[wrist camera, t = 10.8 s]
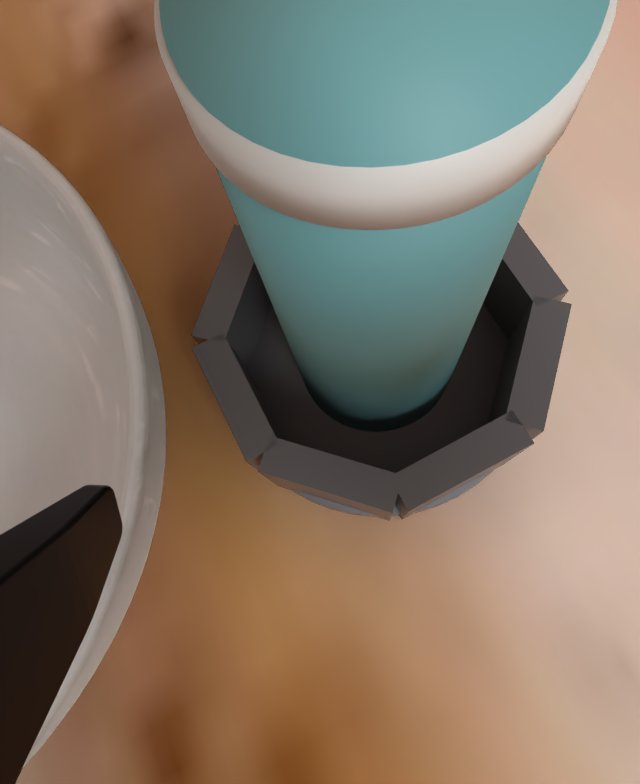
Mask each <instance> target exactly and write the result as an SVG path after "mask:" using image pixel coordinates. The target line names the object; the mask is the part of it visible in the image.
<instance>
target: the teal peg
mask: <svg viewBox="0 0 640 784" xmlns="http://www.w3.org/2000/svg"><path fill="white" fill-rule="evenodd" d="M616 7H617V0H155V4H154V23H155V34H156V39H157V43H158V47H159V51H160V55H161V58H162V61H163V63H164V65H165V68H166V70H167V72H168V75H169V77H170V79H171V82H172V84H173V86H174V89H175V91H176V93H177V96H178V98H179V100H180V103H181V105H182V107H183V109H184V112H185V114H186V116H187V119H188V121H189V123H190V126H191V128H192V130H193V132H194V134H195V137H196V139H197V141H198V143H199V145H200V146H201V148H202V149H203V151H204V152H205V154H206V155H207V157H208V158H209V160H210V161H211V162H212V163H213V164H214V166H215V167H216V169H217V171H218V174H219V176H220V179H221V181H222V184H223V186H224V188H225V191H226V193H227V196H228V198H229V201H230V203H231V205H232V208H233V210H234V213H235V215H236V218H237V220H238V222H239V225H240V227H241V230H242V232H243V235H244V237H245V240H246V242H247V244H248V247H249V249H250V252H251V254H252V257H253V259H254V261H255V264H256V266H257V269H258V271H259V274H260V276H261V278H262V281H263V283H264V286H265V288H266V291H267V293H268V295H269V298H270V300H271V303H272V305H273V308H274V310H275V313H276V315H277V317H278V320H279V322H280V325H281V327H282V330H283V332H284V334H285V337H286V339H287V342H288V344H289V347H290V349H291V351H292V354H293V356H294V359H295V361H296V364H297V366H298V369H299V371H300V373H301V376H302V378H303V381H304V383H305V385H306V388H307V390H308V392H309V394H310V396H311V397H312V399H313V400H314V402H315V403H316V404H317V405H318V406H319V408H320V409H321V410H322V411H324V412H325V413H326V414H327V415H328V416H330V417H331V418H332V419H334V420H335V421H337V422H339V423H341V424H343V425H345V426H348V427H351V428H353V429H358V430H362V431H371V432H382V431H390V430H395V429H399V428H402V427H405V426H407V425H409V424H412V423H414V422H415V421H417V420H419V419H420V418H422V417H423V416H424V415H426V414H427V413H428V412H429V411H430V410H431V409H432V408H433V407H434V406H435V405H436V404H437V402H438V401H439V400H440V398H441V397H442V395H443V393H444V391H445V389H446V388H447V385H448V383H449V381H450V378H451V376H452V374H453V371H454V369H455V367H456V364H457V362H458V360H459V358H460V355H461V353H462V351H463V348H464V346H465V344H466V341H467V339H468V337H469V334H470V332H471V330H472V327H473V325H474V323H475V320H476V318H477V316H478V313H479V311H480V309H481V306H482V304H483V302H484V300H485V297H486V295H487V293H488V290H489V288H490V286H491V283H492V281H493V279H494V276H495V274H496V272H497V269H498V267H499V265H500V262H501V260H502V258H503V255H504V253H505V251H506V249H507V246H508V244H509V242H510V239H511V237H512V235H513V232H514V230H515V228H516V225H517V223H518V221H519V218H520V216H521V214H522V211H523V209H524V207H525V204H526V202H527V200H528V198H529V195H530V193H531V191H532V188H533V186H534V184H535V181H536V179H537V177H538V174H539V172H540V170H541V167H542V165H543V163H544V160H545V158H546V156H547V155H548V154H549V152H550V151H551V150H552V148H553V147H554V145H555V144H556V143H557V141H558V140H559V139H560V137H561V136H562V134H563V133H564V131H565V129H566V127H567V125H568V124H569V122H570V120H571V118H572V116H573V114H574V112H575V110H576V108H577V105H578V103H579V101H580V99H581V97H582V94H583V92H584V90H585V88H586V86H587V83H588V81H589V79H590V77H591V74H592V72H593V70H594V68H595V66H596V63H597V61H598V59H599V57H600V55H601V52H602V50H603V48H604V46H605V44H606V41H607V39H608V36H609V33H610V30H611V27H612V24H613V21H614V18H615V14H616Z"/></svg>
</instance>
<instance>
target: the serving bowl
mask: <svg viewBox="0 0 640 784" xmlns="http://www.w3.org/2000/svg"><path fill="white" fill-rule="evenodd" d="M165 459H166V415H165V401H164V391H163V384H162V377H161V371H160V365H159V360H158V355H157V351H156V348H155V344H154V340H153V336H152V333H151V329H150V326H149V323H148V321H147V318H146V315H145V312H144V309H143V307H142V304H141V301H140V299H139V296H138V294H137V292H136V290H135V287H134V285H133V283H132V281H131V279H130V277H129V275H128V273H127V271H126V269H125V267H124V265H123V263H122V261H121V259H120V257H119V255H118V253H117V252H116V250H115V248H114V246H113V244H112V243H111V241H110V239H109V237H108V236H107V234H106V232H105V230H104V229H103V227H102V225H101V223H100V222H99V221H98V219H97V218H96V216H95V215H94V213H93V212H92V210H91V209H90V207H89V206H88V204H87V203H86V201H85V200H84V199H83V198H82V196H81V195H80V194H79V193H78V191H77V190H76V189H75V188H74V187H73V186H72V184H71V183H70V182H69V181H68V180H67V179H66V178H65V177H64V175H63V174H62V173H61V172H60V171H59V170H58V169H57V168H56V167H55V166H53V165H52V164H51V163H50V162H49V161H48V160H47V159H46V158H45V157H44V156H43V155H42V154H41V153H39V152H38V151H37V150H36V149H34V148H33V147H32V146H30V145H29V144H28V143H26V142H25V141H24V140H22V139H21V138H20V137H18V136H17V135H15V134H14V133H12V132H11V131H9V130H7V129H6V128H4V127H2V126H1V125H0V535H1V534H2V533H4V532H6V531H7V530H9V529H11V528H13V527H14V526H16V525H18V524H19V523H21V522H23V521H25V520H26V519H28V518H30V517H31V516H33V515H35V514H37V513H38V512H40V511H42V510H43V509H45V508H47V507H49V506H50V505H52V504H54V503H55V502H57V501H59V500H61V499H62V498H64V497H66V496H67V495H69V494H71V493H73V492H74V491H76V490H78V489H79V488H81V487H83V486H85V485H108V486H110V487H111V488H112V489H113V490H114V493H115V497H116V500H117V504H118V508H119V512H120V516H121V520H122V527H123V529H122V536H121V539H120V542H119V545H118V548H117V551H116V554H115V557H114V560H113V562H112V565H111V568H110V571H109V574H108V577H107V580H106V583H105V585H104V588H103V591H102V594H101V597H100V600H99V603H98V605H97V608H96V611H95V613H94V616H93V619H92V621H91V623H90V626H89V628H88V630H87V632H86V635H85V637H84V639H83V641H82V643H81V645H80V647H79V649H78V652H77V654H76V656H75V658H74V660H73V662H72V664H71V666H70V668H69V671H68V673H67V675H66V677H65V679H64V681H63V683H62V685H61V687H60V690H59V692H58V694H57V696H56V698H55V700H54V702H53V704H52V706H51V709H50V711H49V713H48V715H47V717H46V719H45V721H44V723H43V725H42V728H41V730H40V732H39V734H38V736H37V738H36V740H35V742H34V745H33V747H32V749H31V751H30V753H29V755H28V757H27V759H26V761H25V764H24V766H23V768H24V767H25V765H26V764H27V763H28V762H29V761H30V760H31V758H32V757H33V756H34V755H35V754H36V753H37V752H38V750H39V749H40V748H41V747H42V746H43V744H44V743H45V742H46V741H47V739H48V738H49V737H50V735H51V734H52V733H53V731H54V730H55V729H56V728H57V726H58V725H59V724H60V722H61V721H62V720H63V718H64V717H65V716H66V714H67V713H68V711H69V710H70V709H71V707H72V706H73V705H74V703H75V702H76V701H77V699H78V698H79V696H80V695H81V693H82V691H83V690H84V688H85V687H86V685H87V684H88V682H89V680H90V679H91V677H92V676H93V674H94V673H95V671H96V669H97V668H98V666H99V664H100V662H101V661H102V659H103V657H104V655H105V654H106V652H107V650H108V648H109V646H110V645H111V643H112V641H113V639H114V637H115V636H116V634H117V631H118V629H119V627H120V625H121V623H122V621H123V618H124V616H125V614H126V612H127V610H128V608H129V606H130V603H131V601H132V599H133V596H134V593H135V591H136V588H137V586H138V583H139V580H140V578H141V575H142V572H143V569H144V566H145V564H146V561H147V557H148V553H149V550H150V546H151V542H152V539H153V535H154V531H155V527H156V522H157V518H158V513H159V508H160V503H161V497H162V489H163V480H164V471H165ZM23 768H22V769H23Z"/></svg>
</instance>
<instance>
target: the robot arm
mask: <svg viewBox="0 0 640 784" xmlns="http://www.w3.org/2000/svg"><path fill="white" fill-rule="evenodd" d="M122 529H123V527H122V520H121V516H120V512H119V508H118V504H117V500H116V497H115V493H114V490H113V489H112V488H111V487H110V486H108V485H85V486H83V487H81V488H79V489H78V490H76V491H74V492H73V493H71V494H69V495H67V496H66V497H64V498H62V499H61V500H59V501H57V502H55V503H54V504H52V505H50V506H49V507H47V508H45V509H43V510H42V511H40V512H38V513H37V514H35V515H33V516H31V517H30V518H28V519H26V520H25V521H23V522H21V523H19V524H18V525H16V526H14V527H13V528H11V529H9V530H7V531H6V532H4V533H2V534H1V535H0V784H15V783H16V780H17V778H18V776H19V774H20V772H21V770H22V768H23V766H24V764H25V761H26V759H27V757H28V755H29V753H30V751H31V749H32V747H33V745H34V742H35V740H36V738H37V736H38V734H39V732H40V730H41V728H42V725H43V723H44V721H45V719H46V717H47V715H48V713H49V711H50V709H51V706H52V704H53V702H54V700H55V698H56V696H57V694H58V692H59V690H60V687H61V685H62V683H63V681H64V679H65V677H66V675H67V673H68V671H69V668H70V666H71V664H72V662H73V660H74V658H75V656H76V654H77V652H78V649H79V647H80V645H81V643H82V641H83V639H84V637H85V635H86V632H87V630H88V628H89V626H90V623H91V621H92V619H93V616H94V613H95V611H96V608H97V605H98V603H99V600H100V597H101V594H102V591H103V588H104V585H105V583H106V580H107V577H108V574H109V571H110V568H111V565H112V562H113V560H114V557H115V554H116V551H117V548H118V545H119V542H120V539H121V536H122Z"/></svg>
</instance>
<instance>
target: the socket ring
mask: <svg viewBox="0 0 640 784" xmlns="http://www.w3.org/2000/svg"><path fill="white" fill-rule="evenodd" d="M567 292H568V289H567V288H566V287H565V285H564V284H563V283H562V281H561V280H560V279H559V277H558V276H557V275H556V273H555V272H554V270H553V269H552V268H551V266H550V265H549V264H548V262H547V261H546V260H545V258H544V257H543V256H542V254H541V253H540V251H539V250H538V249H537V247H536V246H535V245H534V243H533V242H532V241H531V239H530V238H529V237H528V235H527V234H526V233H525V231H524V230H523V228H522V227H521V226H520V224H519V223H517V225H516V228H515V230H514V232H513V235H512V237H511V239H510V242H509V244H508V246H507V249H506V251H505V253H504V255H503V258H502V260H501V262H500V265H499V267H498V269H497V272H496V274H495V276H494V279H493V281H492V283H491V286H490V288H489V290H488V293H487V295H486V297H485V300H484V302H483V304H482V306H481V309H480V311H479V313H478V316H477V318H476V320H475V323H474V325H473V327H472V330H471V332H470V334H469V337H468V339H467V341H466V344H465V346H464V348H463V351H462V353H461V355H460V358H459V360H458V362H457V364H456V367H455V369H454V371H453V374H452V376H451V378H450V381H449V383H448V385H447V388H446V389H445V391H444V393H443V395H442V397H441V398H440V400H439V401H438V402H437V404H436V405H435V406H434V407H433V408H432V409H431V410H430V411H429V412H428V413H427V414H426V415H424V416H423V417H422V418H420V419H419V420H417V421H415V422H414V423H412V424H409V425H407V426H405V427H402V428H399V429H395V430H390V431H382V432H371V431H362V430H358V429H353V428H351V427H348V426H345V425H343V424H341V423H339V422H337V421H335V420H334V419H332V418H331V417H330V416H328V415H327V414H326V413H325V412H324V411H322V410H321V409H320V408H319V406H318V405H317V404H316V403H315V402H314V400H313V399H312V397H311V396H310V394H309V392H308V390H307V388H306V385H305V383H304V381H303V378H302V376H301V373H300V371H299V369H298V366H297V364H296V361H295V359H294V356H293V354H292V351H291V349H290V347H289V344H288V342H287V339H286V337H285V334H284V332H283V330H282V327H281V325H280V322H279V320H278V317H277V315H276V313H275V310H274V308H273V305H272V303H271V300H270V298H269V295H268V293H267V291H266V288H265V286H264V283H263V281H262V278H261V276H260V274H259V271H258V269H257V266H256V264H255V261H254V259H253V257H252V254H251V252H250V249H249V247H248V244H247V242H246V240H245V237H244V235H243V232H242V230H241V227H240V226H236V225H234V228H233V230H232V233H231V235H230V238H229V240H228V243H227V245H226V248H225V250H224V253H223V256H222V258H221V261H220V263H219V266H218V268H217V271H216V273H215V276H214V279H213V281H212V284H211V286H210V289H209V291H208V294H207V296H206V299H205V301H204V304H203V307H202V309H201V312H200V314H199V317H198V319H197V322H196V324H195V327H194V330H193V332H192V336H193V337H194V339H195V340H196V341H197V342H198V343H199V345H197V346H195V347H193V348H192V350H193V352H194V354H195V356H196V358H197V360H198V362H199V364H200V366H201V369H202V371H203V373H204V375H205V377H206V379H207V381H208V383H209V385H210V387H211V389H212V391H213V393H214V395H215V398H216V400H217V402H218V404H219V406H220V408H221V410H222V412H223V414H224V416H225V418H226V420H227V422H228V425H229V427H230V429H231V431H232V433H233V435H234V437H235V439H236V441H237V443H238V445H239V447H240V449H241V452H242V454H243V456H244V458H245V460H246V462H248V463H249V464H251V465H252V466H253V467H255V468H256V469H258V472H260V473H261V474H262V475H264V476H265V477H267V478H268V479H269V480H271V481H272V482H274V483H275V484H277V485H278V486H280V487H284V488H287V489H290V490H292V491H294V492H295V493H297V494H299V495H301V496H303V497H304V498H306V499H308V500H310V501H312V502H314V503H317V504H319V505H322V506H325V507H327V508H330V509H333V510H337V511H341V512H345V513H349V514H355V515H365V516H376V517H379V518H383V519H386V520H390V517H391V516H397V515H400V516H401V518H402V519H404V518H405V517H407V516H409V515H411V514H413V513H416V512H419V511H423V510H426V509H429V508H432V507H436V506H438V505H441V504H443V503H445V502H447V501H449V500H451V499H454V498H456V497H458V496H459V495H461V494H462V493H464V492H466V491H467V490H469V489H470V488H472V487H473V486H475V485H476V484H478V483H479V482H480V481H481V480H483V479H484V478H485V477H486V476H487V475H488V474H490V473H491V472H492V471H493V470H494V469H496V468H497V467H499V466H501V465H503V464H505V463H506V462H508V461H509V460H511V459H512V458H513V457H515V456H516V455H518V454H519V453H521V452H522V451H524V450H525V449H527V448H528V447H529V446H531V445H532V444H534V442H533V440H532V439H533V438H535V437H536V436H537V435H539V434H540V433H542V432H543V431H544V427H545V422H546V418H547V413H548V409H549V404H550V399H551V395H552V390H553V386H554V381H555V377H556V372H557V368H558V363H559V359H560V354H561V349H562V345H563V340H564V336H565V331H566V327H567V322H568V318H569V313H570V309H571V304H569V303H565V302H561V300H562V299H563V297H564V296H565V294H566V293H567Z"/></svg>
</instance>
